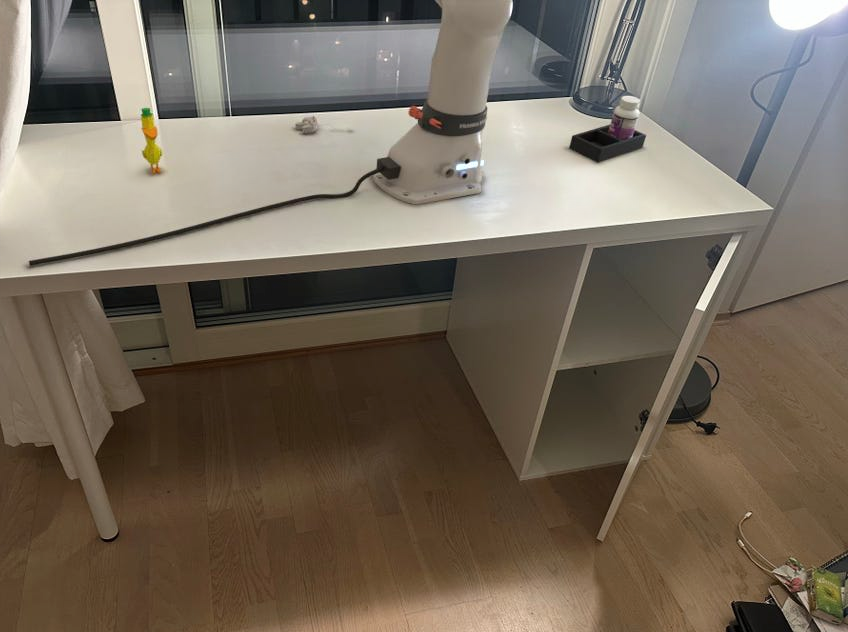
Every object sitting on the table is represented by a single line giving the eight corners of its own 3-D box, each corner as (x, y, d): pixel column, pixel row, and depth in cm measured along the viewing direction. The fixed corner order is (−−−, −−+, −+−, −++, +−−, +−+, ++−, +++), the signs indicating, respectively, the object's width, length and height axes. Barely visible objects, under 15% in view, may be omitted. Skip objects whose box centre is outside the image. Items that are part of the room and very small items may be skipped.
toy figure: (168, 178, 133) (160, 116, 126) (149, 181, 132) (139, 118, 124) (161, 163, 138) (152, 102, 130) (142, 165, 137) (132, 104, 129)
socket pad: (642, 147, 157) (646, 134, 155) (597, 162, 150) (601, 149, 148) (613, 134, 162) (617, 122, 160) (568, 148, 155) (572, 135, 153)
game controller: (293, 125, 156) (292, 113, 154) (342, 121, 159) (343, 110, 157) (299, 135, 152) (299, 123, 150) (350, 131, 155) (350, 120, 153)
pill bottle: (601, 137, 159) (613, 94, 152) (623, 136, 159) (636, 94, 153) (611, 147, 155) (624, 103, 148) (634, 146, 155) (648, 103, 149)
